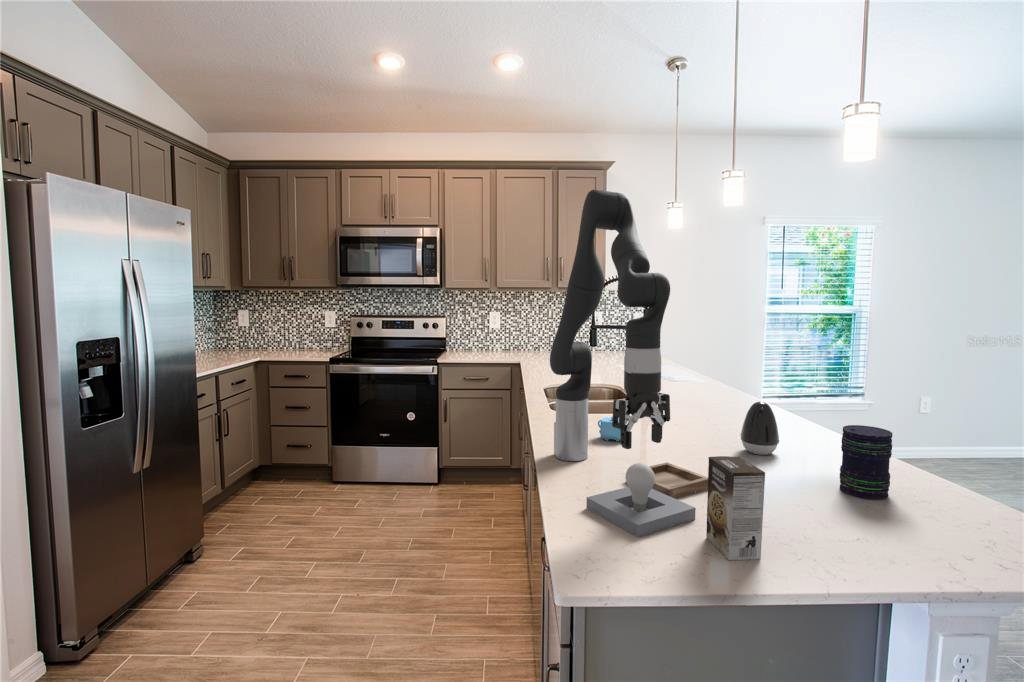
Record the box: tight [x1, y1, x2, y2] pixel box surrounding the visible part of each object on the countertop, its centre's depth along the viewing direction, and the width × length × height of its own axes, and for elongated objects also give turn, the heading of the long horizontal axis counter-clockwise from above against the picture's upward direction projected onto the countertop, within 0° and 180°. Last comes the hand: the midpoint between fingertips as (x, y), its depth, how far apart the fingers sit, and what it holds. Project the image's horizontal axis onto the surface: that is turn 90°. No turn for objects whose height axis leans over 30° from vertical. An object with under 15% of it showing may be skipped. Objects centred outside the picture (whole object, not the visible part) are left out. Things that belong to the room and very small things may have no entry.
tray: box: [648, 462, 708, 499], centre depth 129 cm, size 14×14×2 cm
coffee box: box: [706, 455, 766, 561], centre depth 96 cm, size 9×6×16 cm
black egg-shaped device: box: [740, 401, 780, 456], centre depth 154 cm, size 10×10×15 cm
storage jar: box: [839, 424, 893, 501], centre depth 123 cm, size 10×10×15 cm
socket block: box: [586, 486, 696, 538], centre depth 112 cm, size 16×16×2 cm
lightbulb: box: [625, 462, 655, 512], centre depth 112 cm, size 6×6×11 cm
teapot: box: [597, 415, 621, 442], centre depth 169 cm, size 12×6×8 cm, turn 69°
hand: (641, 445), depth 111 cm, fingers open, 8 cm apart
